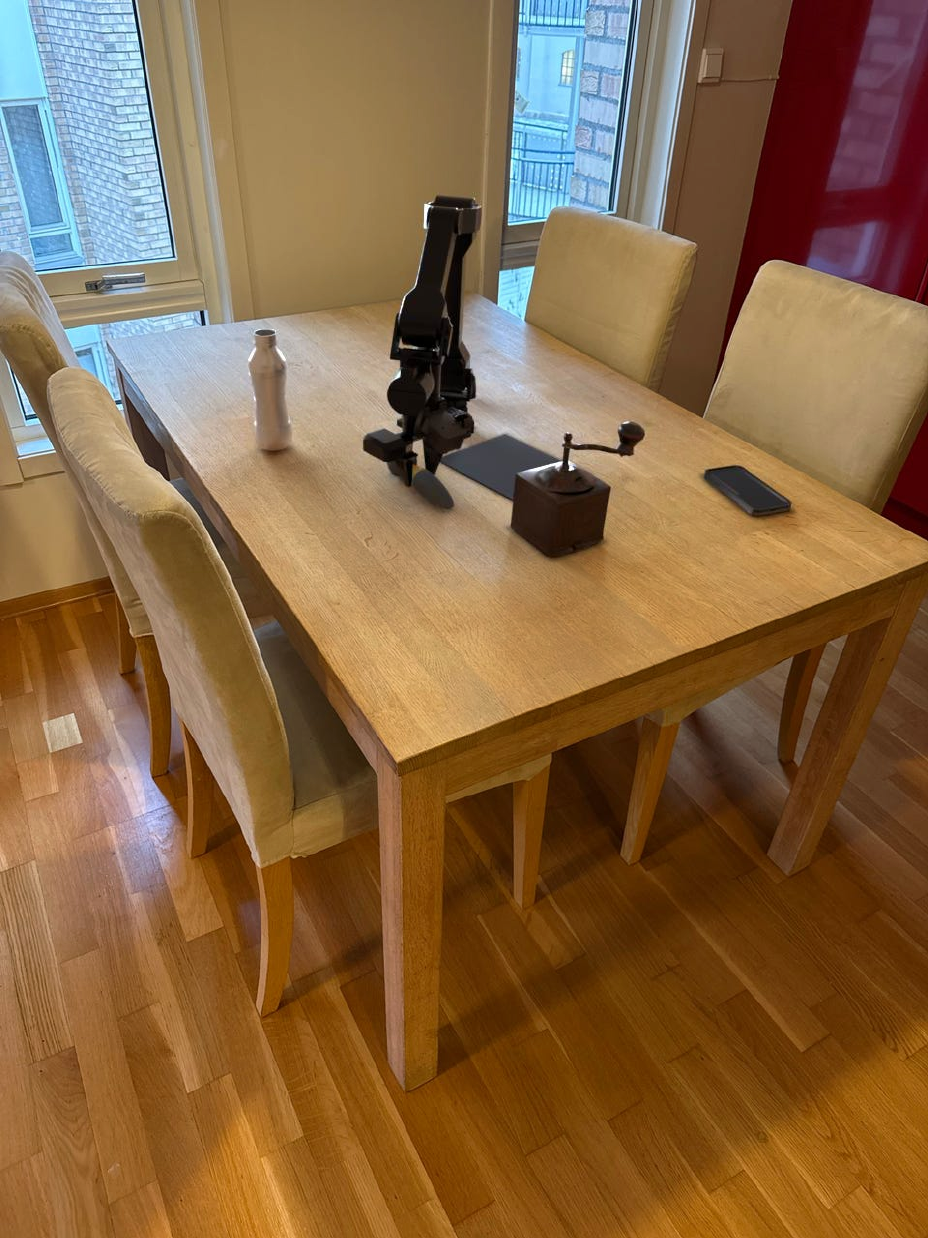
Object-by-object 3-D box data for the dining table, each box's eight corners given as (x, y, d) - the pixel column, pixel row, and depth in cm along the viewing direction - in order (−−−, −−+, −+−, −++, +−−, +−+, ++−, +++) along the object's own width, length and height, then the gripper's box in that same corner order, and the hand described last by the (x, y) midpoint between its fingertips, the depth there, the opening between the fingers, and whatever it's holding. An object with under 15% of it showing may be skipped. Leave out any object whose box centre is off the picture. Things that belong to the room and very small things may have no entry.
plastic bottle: (300, 442, 158) (292, 329, 146) (281, 458, 153) (272, 341, 141) (267, 435, 160) (257, 323, 148) (247, 450, 154) (236, 335, 143)
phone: (739, 464, 157) (794, 503, 146) (738, 470, 157) (792, 510, 146) (701, 469, 154) (754, 510, 143) (700, 475, 155) (753, 517, 144)
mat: (435, 459, 155) (435, 458, 155) (505, 434, 165) (505, 433, 165) (518, 504, 144) (519, 503, 144) (587, 474, 154) (588, 473, 153)
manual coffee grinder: (552, 561, 130) (567, 447, 120) (508, 527, 137) (518, 417, 127) (632, 535, 137) (652, 425, 127) (586, 504, 145) (601, 398, 134)
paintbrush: (470, 507, 142) (472, 479, 139) (445, 516, 139) (447, 487, 136) (397, 461, 154) (397, 434, 151) (373, 468, 151) (373, 441, 149)
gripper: (408, 422, 127) (407, 519, 136) (501, 393, 138) (494, 484, 147) (359, 397, 133) (361, 491, 142) (452, 371, 144) (448, 460, 153)
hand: (419, 482), depth 146 cm, fingers closed on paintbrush, 4 cm apart
